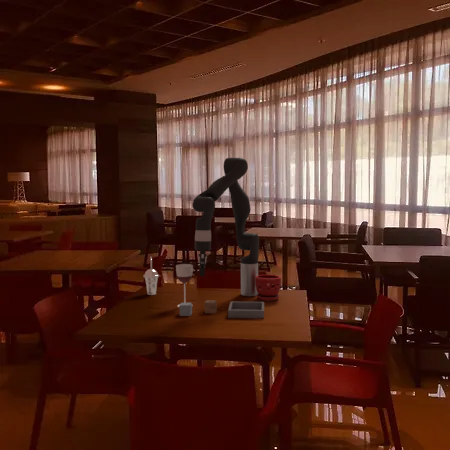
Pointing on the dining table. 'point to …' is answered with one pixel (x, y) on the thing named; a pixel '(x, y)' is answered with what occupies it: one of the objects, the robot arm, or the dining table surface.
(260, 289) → the plant pot
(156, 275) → the cup with straw
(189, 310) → the slate block
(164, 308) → the dining table surface
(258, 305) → the tray
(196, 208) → the robot arm
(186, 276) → the wineglass
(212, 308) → the walnut block
